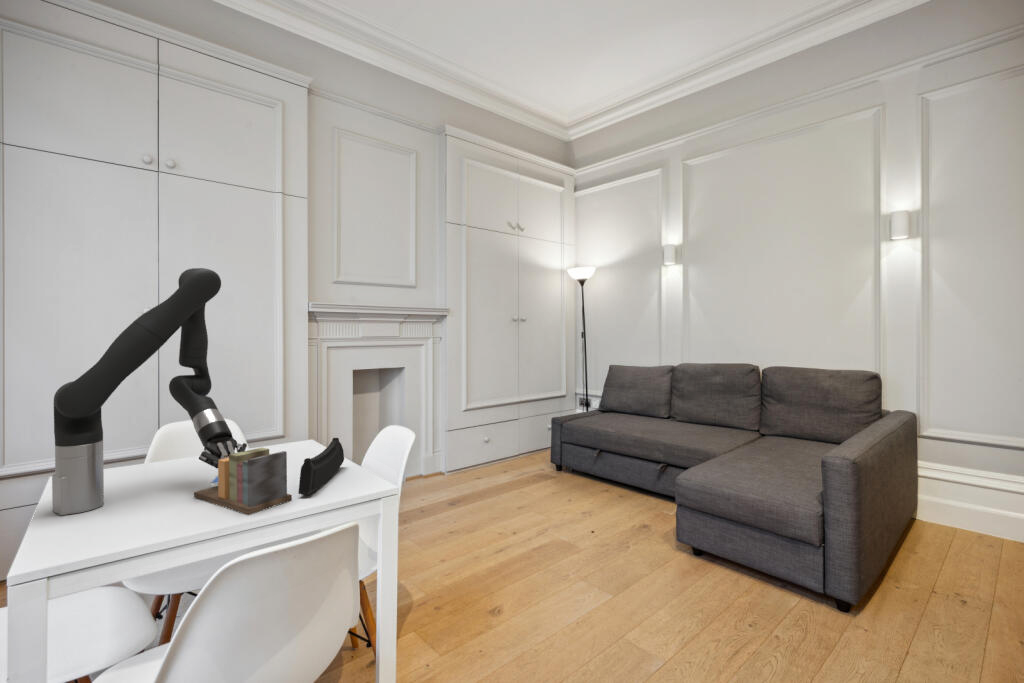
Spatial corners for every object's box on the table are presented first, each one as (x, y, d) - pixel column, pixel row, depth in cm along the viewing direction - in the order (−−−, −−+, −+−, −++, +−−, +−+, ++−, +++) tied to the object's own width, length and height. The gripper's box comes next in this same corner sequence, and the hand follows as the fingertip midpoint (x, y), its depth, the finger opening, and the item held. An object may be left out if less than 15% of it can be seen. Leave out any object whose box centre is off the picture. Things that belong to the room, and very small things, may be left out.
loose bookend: (224, 499, 123) (224, 461, 123) (218, 497, 125) (218, 460, 125) (261, 488, 132) (260, 453, 132) (254, 486, 133) (254, 452, 133)
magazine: (306, 468, 126) (340, 418, 154) (294, 468, 126) (330, 418, 154) (313, 521, 131) (345, 463, 160) (302, 521, 131) (335, 463, 159)
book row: (248, 515, 116) (247, 461, 116) (193, 497, 129) (193, 449, 129) (291, 500, 127) (291, 451, 127) (237, 485, 140) (237, 440, 139)
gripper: (191, 423, 128) (216, 474, 122) (239, 416, 140) (264, 462, 134) (182, 440, 131) (205, 491, 125) (229, 432, 142) (253, 478, 137)
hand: (236, 476), depth 129 cm, fingers closed
